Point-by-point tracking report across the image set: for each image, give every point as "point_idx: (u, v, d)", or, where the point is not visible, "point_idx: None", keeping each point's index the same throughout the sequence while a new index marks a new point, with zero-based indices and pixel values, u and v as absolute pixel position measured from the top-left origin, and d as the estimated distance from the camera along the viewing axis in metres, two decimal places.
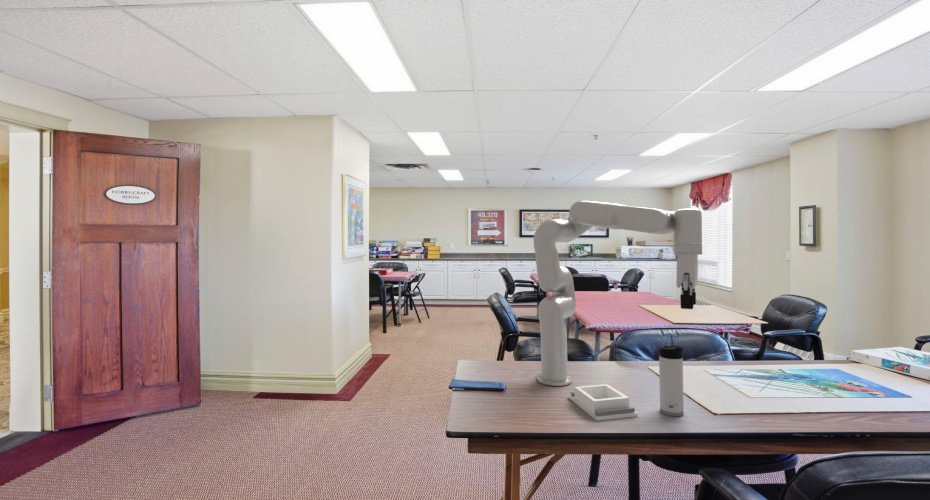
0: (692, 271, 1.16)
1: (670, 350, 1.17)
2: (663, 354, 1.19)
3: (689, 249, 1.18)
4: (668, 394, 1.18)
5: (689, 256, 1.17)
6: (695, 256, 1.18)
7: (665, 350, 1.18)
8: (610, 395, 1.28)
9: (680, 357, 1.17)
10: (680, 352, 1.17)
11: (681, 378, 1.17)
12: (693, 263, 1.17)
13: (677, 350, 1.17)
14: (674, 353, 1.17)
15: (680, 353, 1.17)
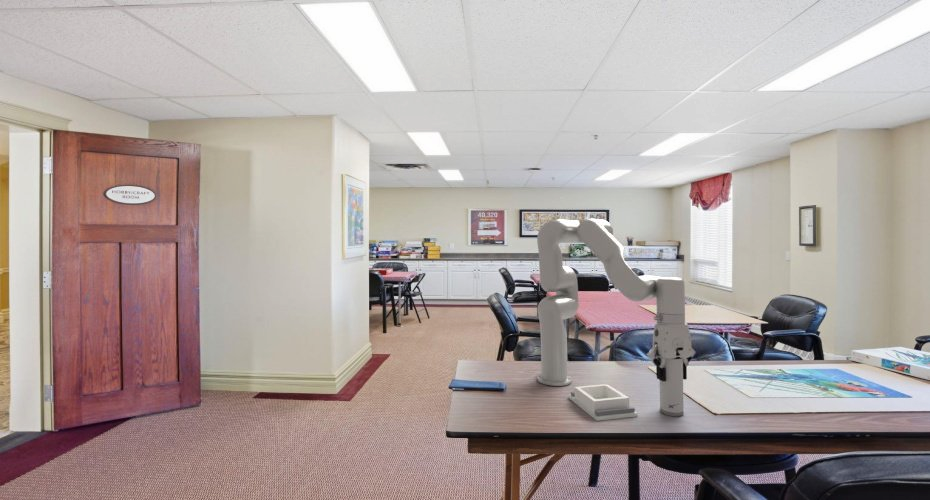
0: None
1: None
2: None
3: None
4: (668, 394, 1.18)
5: None
6: None
7: None
8: (610, 395, 1.28)
9: None
10: None
11: (681, 378, 1.17)
12: None
13: (677, 350, 1.17)
14: None
15: None
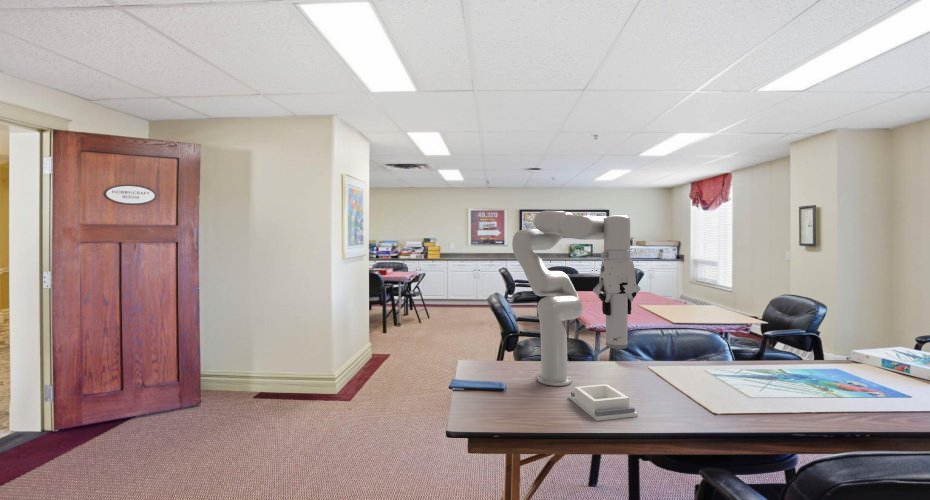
0: None
1: None
2: None
3: None
4: (612, 327, 1.22)
5: None
6: None
7: None
8: (610, 395, 1.28)
9: (625, 292, 1.21)
10: None
11: (625, 312, 1.21)
12: None
13: (622, 285, 1.21)
14: None
15: None
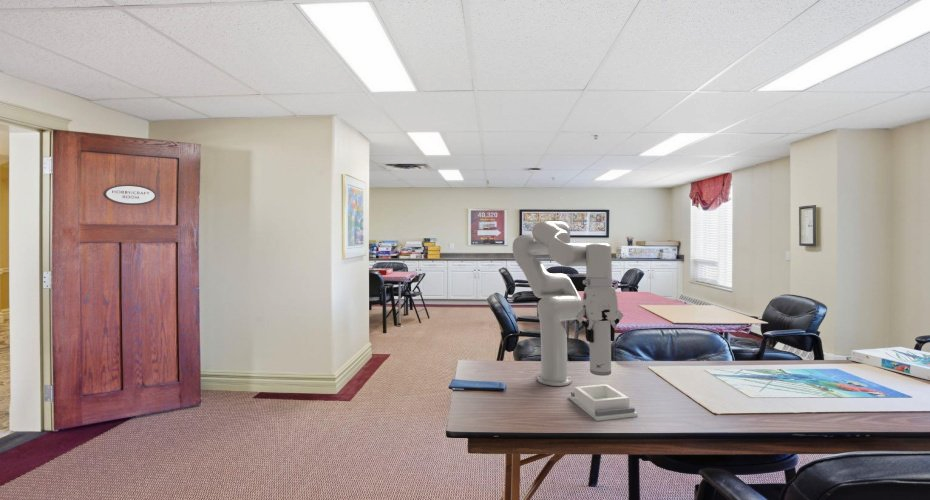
0: None
1: None
2: None
3: None
4: (595, 354, 1.23)
5: None
6: None
7: None
8: (610, 395, 1.28)
9: None
10: None
11: (608, 339, 1.22)
12: None
13: (604, 312, 1.22)
14: None
15: None
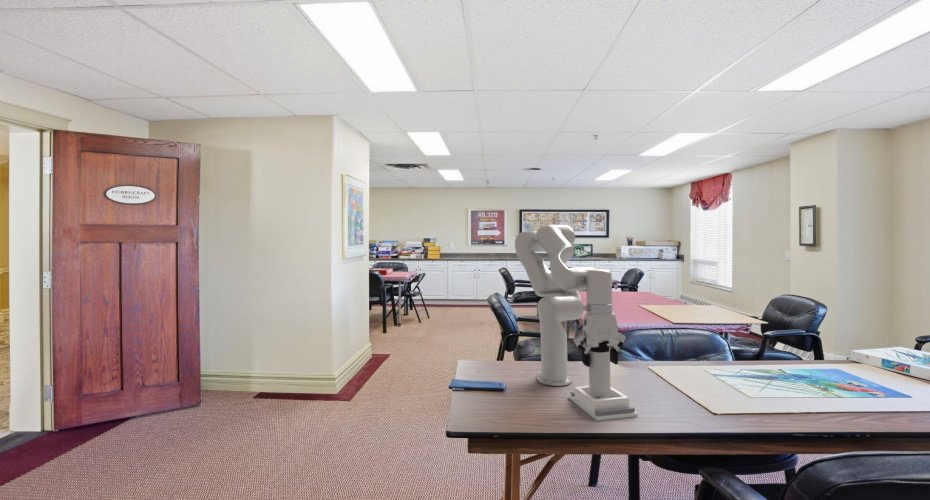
0: None
1: None
2: (591, 347, 1.24)
3: None
4: (595, 385, 1.23)
5: None
6: None
7: None
8: None
9: (606, 350, 1.22)
10: (606, 345, 1.22)
11: (607, 370, 1.22)
12: None
13: (603, 344, 1.22)
14: (600, 347, 1.22)
15: (606, 346, 1.22)
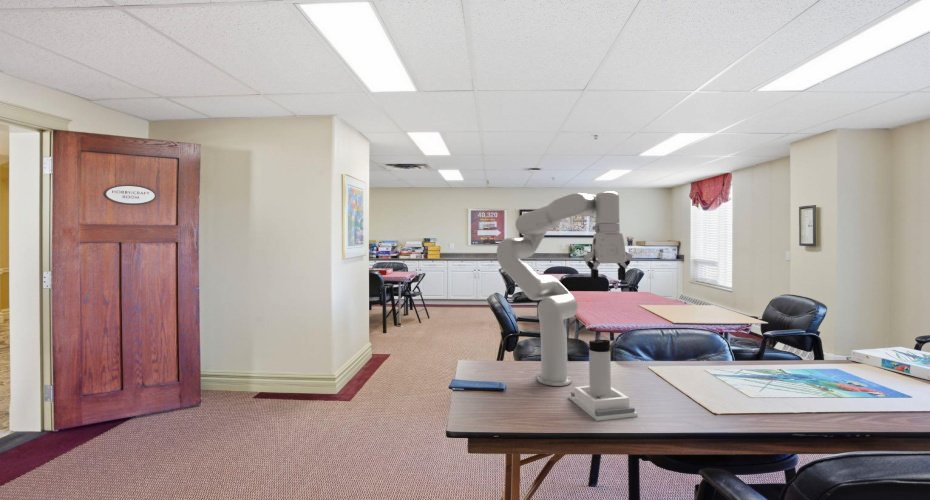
0: None
1: (597, 343, 1.23)
2: (591, 347, 1.24)
3: None
4: (595, 385, 1.23)
5: None
6: None
7: (593, 343, 1.23)
8: None
9: (607, 350, 1.23)
10: (607, 345, 1.23)
11: (608, 370, 1.23)
12: None
13: (604, 343, 1.22)
14: (601, 346, 1.22)
15: (607, 346, 1.23)
